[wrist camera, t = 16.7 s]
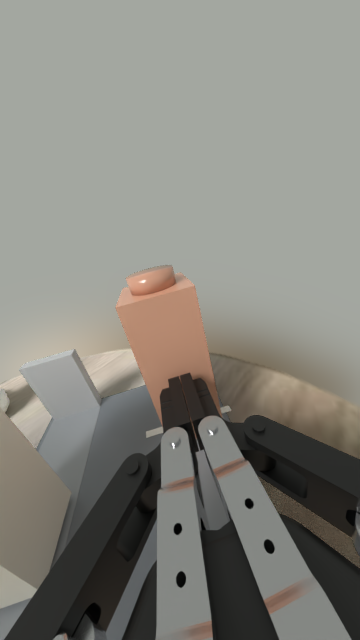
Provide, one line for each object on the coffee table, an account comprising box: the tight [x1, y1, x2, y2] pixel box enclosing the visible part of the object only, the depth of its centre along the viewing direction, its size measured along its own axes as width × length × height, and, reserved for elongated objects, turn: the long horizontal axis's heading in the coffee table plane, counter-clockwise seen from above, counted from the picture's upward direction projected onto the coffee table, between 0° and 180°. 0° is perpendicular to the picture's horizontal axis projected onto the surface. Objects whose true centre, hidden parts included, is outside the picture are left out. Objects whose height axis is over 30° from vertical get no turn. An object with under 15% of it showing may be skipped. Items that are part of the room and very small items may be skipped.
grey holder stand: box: [0, 349, 231, 640], centre depth 15 cm, size 18×17×8 cm
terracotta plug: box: [116, 265, 222, 437], centre depth 15 cm, size 4×4×13 cm
